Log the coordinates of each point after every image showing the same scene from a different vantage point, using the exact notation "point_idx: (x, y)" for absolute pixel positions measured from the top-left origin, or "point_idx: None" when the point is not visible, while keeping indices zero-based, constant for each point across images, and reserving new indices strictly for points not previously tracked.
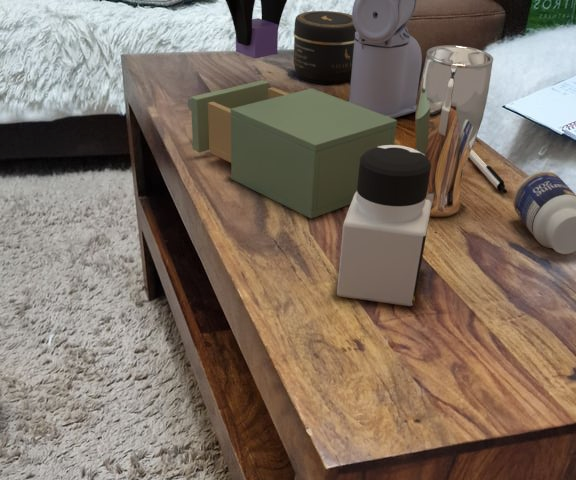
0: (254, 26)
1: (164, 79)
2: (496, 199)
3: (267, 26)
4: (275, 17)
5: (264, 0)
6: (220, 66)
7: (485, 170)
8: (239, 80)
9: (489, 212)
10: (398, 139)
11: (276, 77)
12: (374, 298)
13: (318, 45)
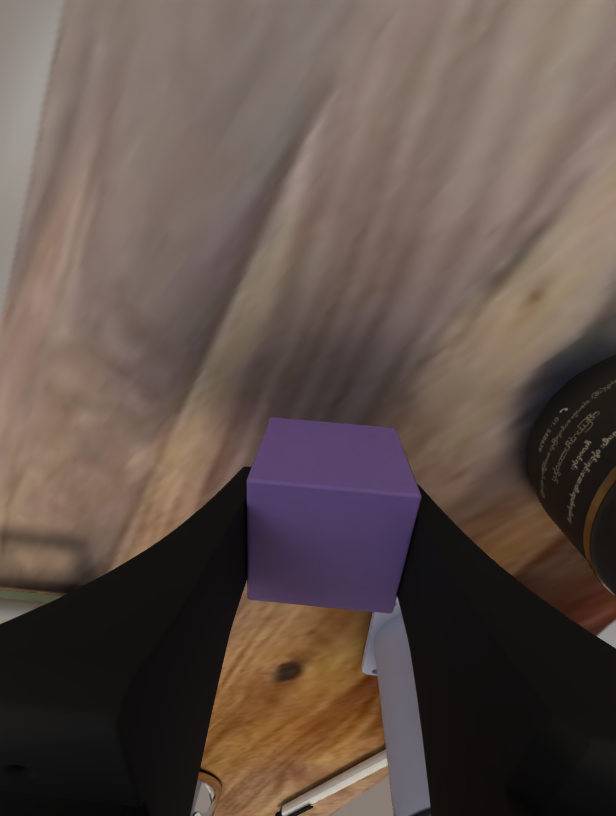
0: (270, 580)
1: (156, 70)
2: (265, 804)
3: (325, 606)
4: (407, 621)
5: (450, 619)
6: (477, 73)
7: (306, 800)
8: (382, 291)
9: (232, 807)
10: (335, 703)
11: (502, 349)
12: None
13: (584, 550)
